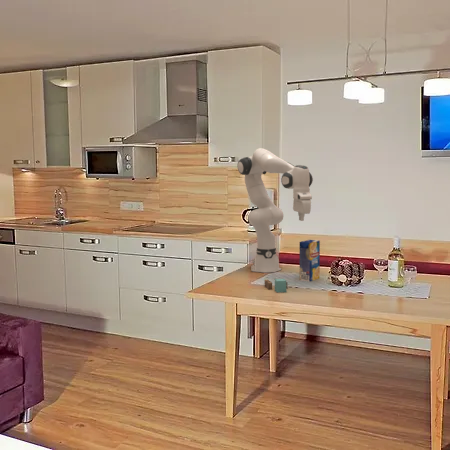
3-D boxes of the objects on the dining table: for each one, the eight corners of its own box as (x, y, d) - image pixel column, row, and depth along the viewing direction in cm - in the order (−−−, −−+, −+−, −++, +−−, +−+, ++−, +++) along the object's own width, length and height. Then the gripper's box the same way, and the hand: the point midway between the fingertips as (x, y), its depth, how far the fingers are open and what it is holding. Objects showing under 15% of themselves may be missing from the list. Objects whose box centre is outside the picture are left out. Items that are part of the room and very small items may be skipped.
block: (274, 290, 302) (274, 279, 301) (283, 289, 303) (283, 278, 302) (277, 292, 297) (277, 281, 296) (286, 292, 298) (286, 280, 297)
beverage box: (319, 278, 330) (319, 240, 328) (309, 281, 322) (309, 242, 319) (309, 276, 335) (309, 239, 332) (299, 280, 326) (299, 241, 324)
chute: (264, 286, 313) (264, 279, 312) (283, 285, 314) (282, 278, 314) (268, 289, 304) (268, 283, 303) (287, 288, 306) (287, 282, 305)
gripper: (290, 194, 321) (290, 218, 323) (301, 196, 301) (301, 222, 303) (301, 194, 322) (301, 218, 324) (312, 196, 302) (312, 222, 304)
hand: (301, 220), depth 313 cm, fingers closed
